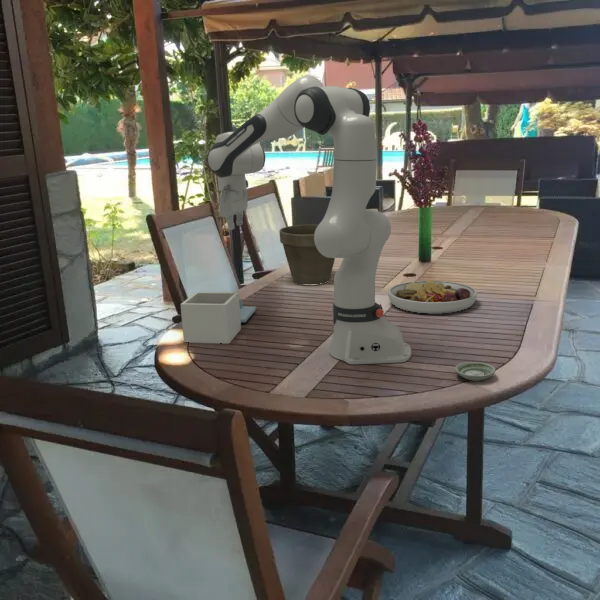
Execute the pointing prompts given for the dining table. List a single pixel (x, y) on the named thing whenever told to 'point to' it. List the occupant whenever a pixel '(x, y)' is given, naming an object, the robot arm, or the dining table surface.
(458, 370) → the saucer
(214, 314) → the tub
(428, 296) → the bowl
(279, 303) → the dining table surface
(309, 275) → the plant pot
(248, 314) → the lid
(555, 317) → the dining table surface
